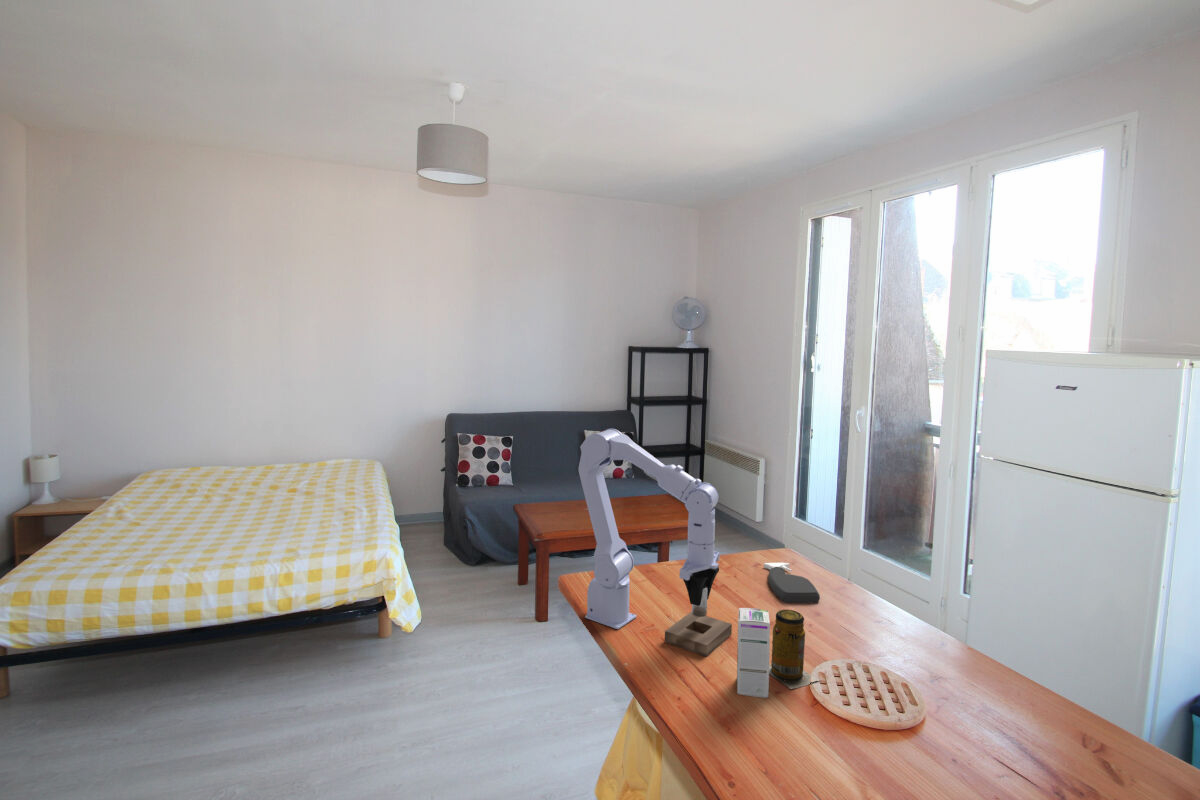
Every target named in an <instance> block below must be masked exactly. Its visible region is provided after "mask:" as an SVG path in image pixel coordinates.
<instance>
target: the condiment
mask: <svg viewBox="0 0 1200 800" xmlns="http://www.w3.org/2000/svg"><path fill="white" fill-rule="evenodd" d="M804 621H805V617H804V616H803V614H802V613H801V612H799V611H797V610H792V609H779V610H778V611H777V612H776V613H775V621H774V622H775V623H774V625H773V628H772V641H771V644H772V646H771V648H772V649H771V661H770V663H771V664H769V676H771V677H772V678H774V679H776V680H778V681H779V682H780V683H781V684H783V685H784V686H786V687H787V688H788V689H790V690H792V689H798V688H802V687H805V686H809V685H811V684H810V678H811V675H812V674H810V673H809V672H807V671H806V670H804V665H805V663H804V662H805V659H804V658H805V642H806V630H805V627H804V626H805V624H804Z"/></svg>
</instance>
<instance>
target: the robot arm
mask: <svg viewBox="0 0 1200 800" xmlns="http://www.w3.org/2000/svg"><path fill="white" fill-rule="evenodd" d="M624 460H625V461H628V462H630V463H631V464H633V465H634V466H636V467H638V468H639V469H640V470H643V471H644V472H645V473H647V474H649V475H650V476H653V477H654V478H655V479H656V481H657V485H658V486H659V487H660V488H661V489H662V490H664V491H666V492H667V493H669V494H670V495H671V496H673V497H674V498H675V499H677V500H679V501H680V502H682V503H684V507H685V509H686V510H687V512H688V519H687V548H686V549H687V551H686V554H687V555H686V556H687V557H686V559H685V561H684V563H683V565H682V567H681V568H680V569H679V579H682V581H683V582H684V585H685V588H686V591H687V595H688V599H689V603H690V605H692V604H693V605H696V606H699V605H700V604H701V600H702V592H703V588H704V585H706V586H707V587H708V589H707V601H708V600H709V597H710V594H711V591H712V587H713V584H714V581H715V579H716V576H717V575H718V573H719V572H720V564H719V563H718V562H719V561H720V552H719V551H716V550H715V540H716V539H715V536H716V531H715V530H716V519H715V518H716V508H715V507H716V505H717V504H718V502H719V498H720V496H719V492H718V491H717V488H716V487H715V486H713V485H712V483H709V482H702V480H701V479H700V478H695V477H693V476H691V475H690V474H689V473H687V472H685V470H683V469H684V467H683V466H681V465H680V464H678V465H675V464H668V465H665V464H664V463H662V462H661V461H660V460H659V459H657V458H656V457H654V455H653V454H651V453H650V452H648V451H647V450H645V449H644V448H643V447H641V446H640V445H638V444H637V443H635V442H634V441H633V440H632V439H631V437H629V436H628V435H627V434H625V433H622V432H621V431H619V430H618V429H616V428H607V429H604V430H603V431H600V432H596V433H592V434H589V435H588V436H587V437H586V438H585V439H584V441H583V442H582V444H581V445H580V460H579V465H578V469H577V470H578V474H579V478H580V482H581V487H582V491H583V494H584V498H585V503H586V506H587V511H588V514H589V518H590V522H591V525H592V530H593V534H594V539H595V542H596V545H595V546H596V547H595V550H594V553H593V560H594V567H593V576H594V577H593V578H592V579H591V580H590V582H589V584H588V587H587V593H586V595H587V598H586V599H587V601H586V602H587V605H586V607H587V608H586V609H587V611H586V612H587V613H586V614H585V616H584V618H585V619H588V620H590V621H593V622H596V623H598V624H602V625H604V626H607V627H610V628H612V629H615V630H619V629H621V628H622V627H623V626H625V625H627V624H629V623H630V622H632V621H634V619H636V618H637V614H635V613H631V612H630V584H631V583H630V581H631V579H630V573H631V572H632V571H633V569H634V567H635V559H634V557H633V555H632V553H631V552H630V550H628V547H627V544H626V541H624V540H623V539H622V538H621V537H620V534H619V531H618V527H617V524H616V518H615V515H614V511H613V508H612V504H611V499H610V496H609V491H608V488H607V483H606V480H605V476H604V472H605V470H606V468H607V467H608V466H609V463H611V461H624Z"/></svg>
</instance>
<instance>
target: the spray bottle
mask: <svg viewBox="0 0 1200 800" xmlns="http://www.w3.org/2000/svg"><path fill="white" fill-rule="evenodd" d="M789 567H790V563H789V562H765V563H763V568H764V569H767V570H769V572H768V577H767V580H768V583H769V587H770V588H771V590H772V592H773V593H774V594H775V595H776V597H778V599H780V600H781V601H782V602H784V603H786V604H816V603H818V602H819V601H820V599H821V598H820V597H821V596H820V593H819V591H818V590H817V588H816V587H815V585H814V584H813V583H812V582H811V581H810V579H808V578H806V577H803V576H802V575H801V576H800V575H795V574H791V573H789V574H788V573H786V572H785V570H786V571H789V572H793V569H791V568H789Z"/></svg>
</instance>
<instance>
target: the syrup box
mask: <svg viewBox="0 0 1200 800" xmlns="http://www.w3.org/2000/svg"><path fill="white" fill-rule="evenodd" d="M769 613H770V611H769V610H767V609H761V608H752V607H739V608H738V617H737V619H738V620H737V654H736V655H737V657H736V658H737V659H736V661H737V664H736V666H737V667H736V689H737V690H736V693H737V695H741V696H749V697H754V698H755V697H756V698H763V699H768V698H769V689H770V688H769V683H770V674H769V665H770V655H771V654H770V645H771V644H770V643H771V641H770V640H771V639H770V636H771V632H770V631H771V624H770V623H771V621H770V614H769Z"/></svg>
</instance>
